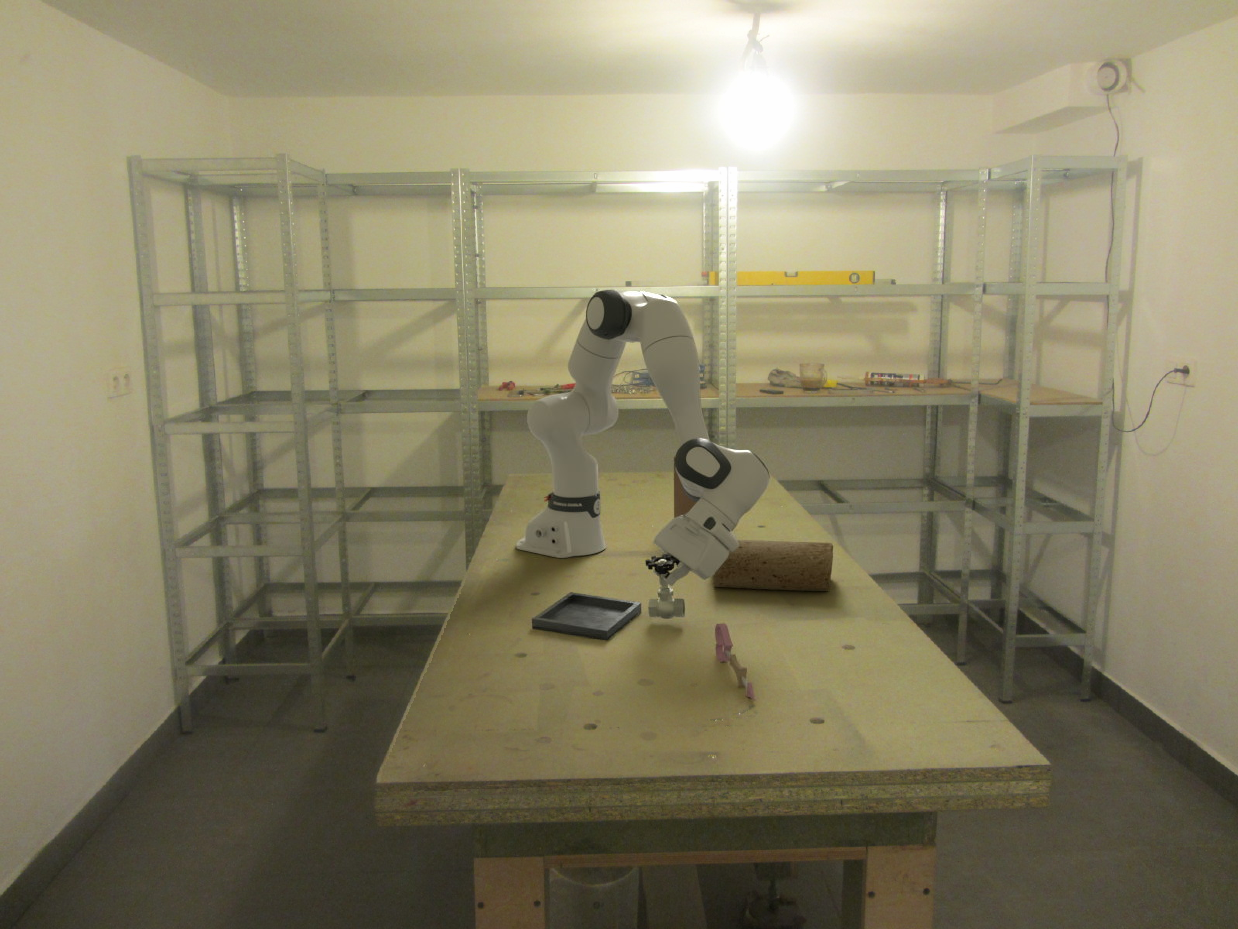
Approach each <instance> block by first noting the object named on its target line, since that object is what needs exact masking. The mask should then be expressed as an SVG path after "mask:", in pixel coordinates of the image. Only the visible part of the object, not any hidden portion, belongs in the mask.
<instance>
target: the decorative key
mask: <svg viewBox="0 0 1238 929" xmlns="http://www.w3.org/2000/svg"><path fill="white" fill-rule="evenodd" d="M714 638H715V641H716V643H715V650H714V651H715V655H716V659H717V660H718V661H719V663H725V662H727V663H728V662H729V665H730V667H732V668H733V670H734V674H735V676H736V678H737V679H736V680H737V687H738V688H744V687H745V689H746V692H745V693H746V694H745V695H746V696H745V697H747V698H751V699H752V700H753V701H756V698H755V692H754V687H753V682H751V681H749V682H748V681H747V672H748V667H746V666H742V665H741V664H740V663H739V662H738V659H737V655H736V653H734V654H733V653H732V648H733V646H734V644H733V642H732V639H731V635H730V630H729V628H728V625H727V624H726V623H725V622H724V623H723V622H722V623H721V622H720V623H717V624H716V625H715V629H714Z"/></svg>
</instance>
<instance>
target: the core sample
mask: <svg viewBox="0 0 1238 929" xmlns="http://www.w3.org/2000/svg"><path fill="white" fill-rule="evenodd" d="M737 541H738V543H739V546H738V547H737V549H736V550H735V551H733V552H730V551H729V556H728V557H727V559H726V560H725V562H724V563H723V564H722V565H721V566H720V568H719V569H718V570H717V571H716V572H715V573H714V580H713V586H714V588H729V589H730V588H733V589H751V590H754V589H755V590H772V591H773V590H776V591H801V592H802V591H803V592H804V591H805V592H807V591H809V592H811V591H813V592H814V591H815V592H828V591H830V586H831V579H832V573H833V572H832V568H833V560H834V559H833V558H834V545H833V542H816V541H813V542H811V541H783V540H761V539H760V540H759V539H758V540H756V539H755V540H754V539H737Z"/></svg>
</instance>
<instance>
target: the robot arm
mask: <svg viewBox="0 0 1238 929" xmlns="http://www.w3.org/2000/svg"><path fill="white" fill-rule="evenodd" d="M693 334H694V333H693V332H692V329H691V327H690V324H689V321H688V320H687V318H686V315H685V313H684V311H683V310H682V308H681V306H680V304H679V303H678V301H676V300H675V299H674V298H672V297H670V296H667V295H665V294H655V293H651V292H647V291H646V292H645V291H640V290H635V291H634V290H615V289H603V290H600V291H597V292H595V293H594V294H593V295H592V296H591V297H590V299H589V301H588V303H587V306H586V311H585V319H584V321H583V323H582V326H581V327H580V330H579V333H578V335H577V338H576V340H575V343H574V346H573V348H572V351H571V354H570V356H569V359H568V363H567V369H568V372H569V376H570V377H571V378H572V379H573V380H574V381H575V382H574V386H573V389H571V391H569V392H564V393H563V392H562V393H555V394H550V395H546V396H544V397H542V398H539V399H536V400H535V401H533V402H532V403H531V404H530V405H529V408H528V411H527V414H526V422H527V427H528V429H529V431H530V433H531V434H532V436H534V437H535V438H536V439H537V440H538V441H540V442H541V443H542V444H543V446H544V447H545V449H546V451H547V453H548V456H549V460H550V463H551V471H552V486H553V488H552V489H553V491H552V492H550V493H548V494H547V495H546V496H544V497H543V499H544V502H547V503H548V504H547V506H546V507H545V508H543V510H541V511H540V512H538V514H536V515H535V516H534V517H533V518H531V519H530V520H529V521H528V523H527V525H526V528H525V534H524V537H523V538H521V539H520V540H518V541H517V543H516V547H515V548H516V550H521V551H523V552H524V551H526V552H529V553H535V554H539V555H543V556H548V557H553V558H558V559H565V558H566V559H567V558H571V557H580V556H588V555H593V554H597V553H599V552H602V551H603V550H605V549H606V548H607V544H606V542H605V537H604V534H603V527H602V523H601V516H600V515H601V511H602V510H601V508H602V506H601V504H602V503H601V502H602V501H601V492H600V491H599V465H598V464H599V463H598V462H597V461H598V460H597V459H596V458H595V457H594V456H593V455H591V454H590V453H588V452H586V449H585V448H584V443H583V439H582V437H585V436H590V435H594V434H595V435H596V434H599V433H601V432H603V431H606V430H607V429H610V428H612V427H613V426H614V425H615V424H616V422H617V421H618V418H619V413H620V412H619V411H620V410H619V409H620V408H619V404H618V402H617V400H616V397H615V396H614V394H612V386H613V380H614V377H615V374H616V371H617V368H618V366H619V363H620V361H621V358H622V355H623V353H624V350H625V348H626V344H627V343H640V348H641V352H642V355H643V356H642V357H643V361H644V363H645V367H646V369H647V372H648V375H649V377H650V378H651V381H652V384H654V387H655V388H656V391H657V392H658V393H659V394H658V395H659V396H660V397H661V399H662V400H663V403H664V404H665V406H666V407H667V409H668V411H669V413H670V415H671V418H672V421H673V424H674V427H675V431H676V435H677V438H678V439H677V440H678V442H679V446H680V447H679V448H678V449H677V451H676V454H675V456H674V457H675V467H676V471H677V474H678V476H679V479H680V481H681V485H682V489H683V491H684V493H685V494H686V496H687V497H688V498H690V499H691V500H693V501H695V502H697V503H696V504H695V505H694V506H693V507H692V509H691V510H690V511H689V512H688V513H685V514H684V515H680V516H679V517H675V518H674V517H673V518H672V519H671V520H670V521H668V523H666V525H665V526H663V528H662V529H661V530H660V531H659V532H658V533H657V534H656V535H655V537H654V539H653V543H654V545H655V546H656V547H658V548H659V549H660V550H661V551H662V552H663V553H662V554H661V555H660V557H661V556H662V555H663V554H667V556H668V557H671V556H673V557H675V558H676V559H677V560H679V561H680V563H679V564H678V565H676V568H674V569H673V570H671V572H670V571H669V572H668V573H667V574H666V576H665V577H664V581H665V582H667V583H668V586H669V587H670V586H671V587H673V586H674V585H675V584H676V582H677V581H678V580H681V579H682V578H684V577H687V575H688V574H689V573H690V572H692V573H694V574H695V575H696V576H698V577H699V578H701V580H707V579H709V578H711V577H712V576H713V575H715V572H716V571H717V570H718V569H719V568H720V566H721V565H722V564H723V563H724V562H725V560H726V559H727V557H728V556H729V551H730V552H733V551H735V550H736V549H737V547H738V546H739V543H738V541H737V540H738V539H737V538H736V536H735V534H734V532H733V531H734V530H735V529H736V528H737V526H738V524H739V522H740V520H741V518H742V517H743V516H745V514H747V513H748V512H750V511H751V510H752V509H753V508H754V506H755V505H756V504H757V503H758V502H759V500H760V498H761V497H762V496H763V494H764V493H765V492H766V490H767V488H768V486H769V485H770V481H771V477H770V471H769V470H768V468H767V466H766V464H765V463H764V462H763V461H762V459H761V458H760V457H759V456H758V455H757V454H755V453H754V452H753V451H751V450H748V449H742V450H739V449H733V448H729V447H725V446H722V445H720V444H717V443H715V442H712V441H711V440H710V437H709V432H708V429H707V425H706V422H705V418H704V415H703V414H704V413H703V409H702V408H703V407H702V398H701V374H700V373H701V372H700V362H699V355H698V350H697V345H696V342H695V339H694V335H693ZM684 516H685V517H684ZM666 561H667V560H666ZM668 562H670V561H667V563H668ZM652 570H653V574H655V575H656V576H657V577H659V578H660V577H661V574H659V573H657V572H655V569H654V568H653V569H652Z"/></svg>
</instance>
